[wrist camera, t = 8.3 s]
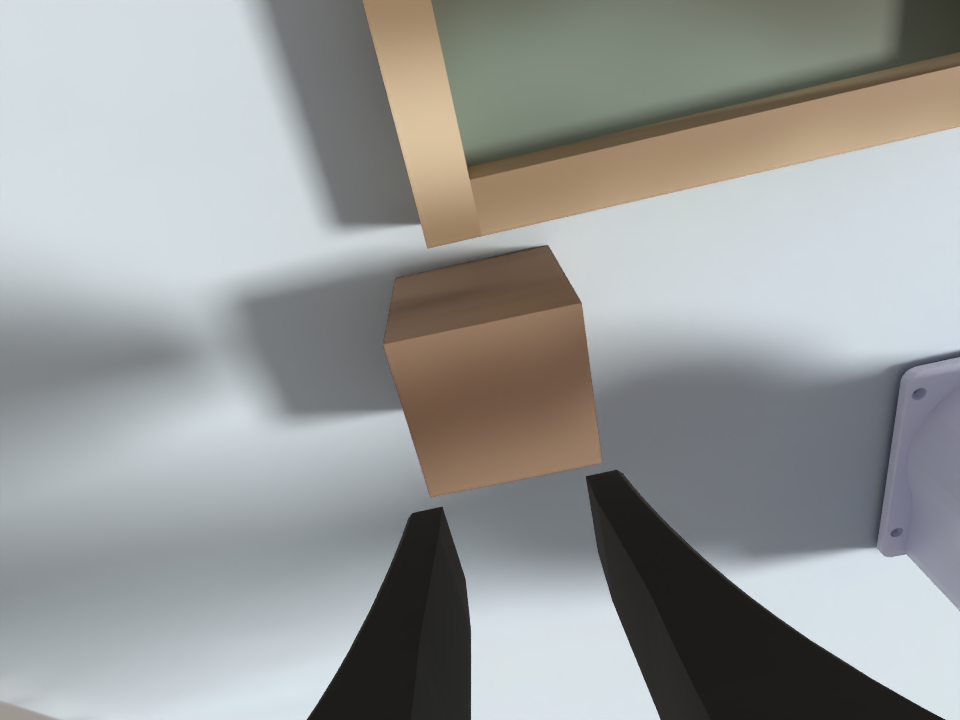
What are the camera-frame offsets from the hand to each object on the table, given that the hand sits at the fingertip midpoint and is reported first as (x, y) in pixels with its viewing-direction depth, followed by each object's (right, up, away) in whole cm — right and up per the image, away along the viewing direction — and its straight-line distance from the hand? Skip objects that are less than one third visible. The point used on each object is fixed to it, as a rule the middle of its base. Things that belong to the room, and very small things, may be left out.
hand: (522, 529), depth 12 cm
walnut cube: (-1, +4, +8) cm, 10 cm away
